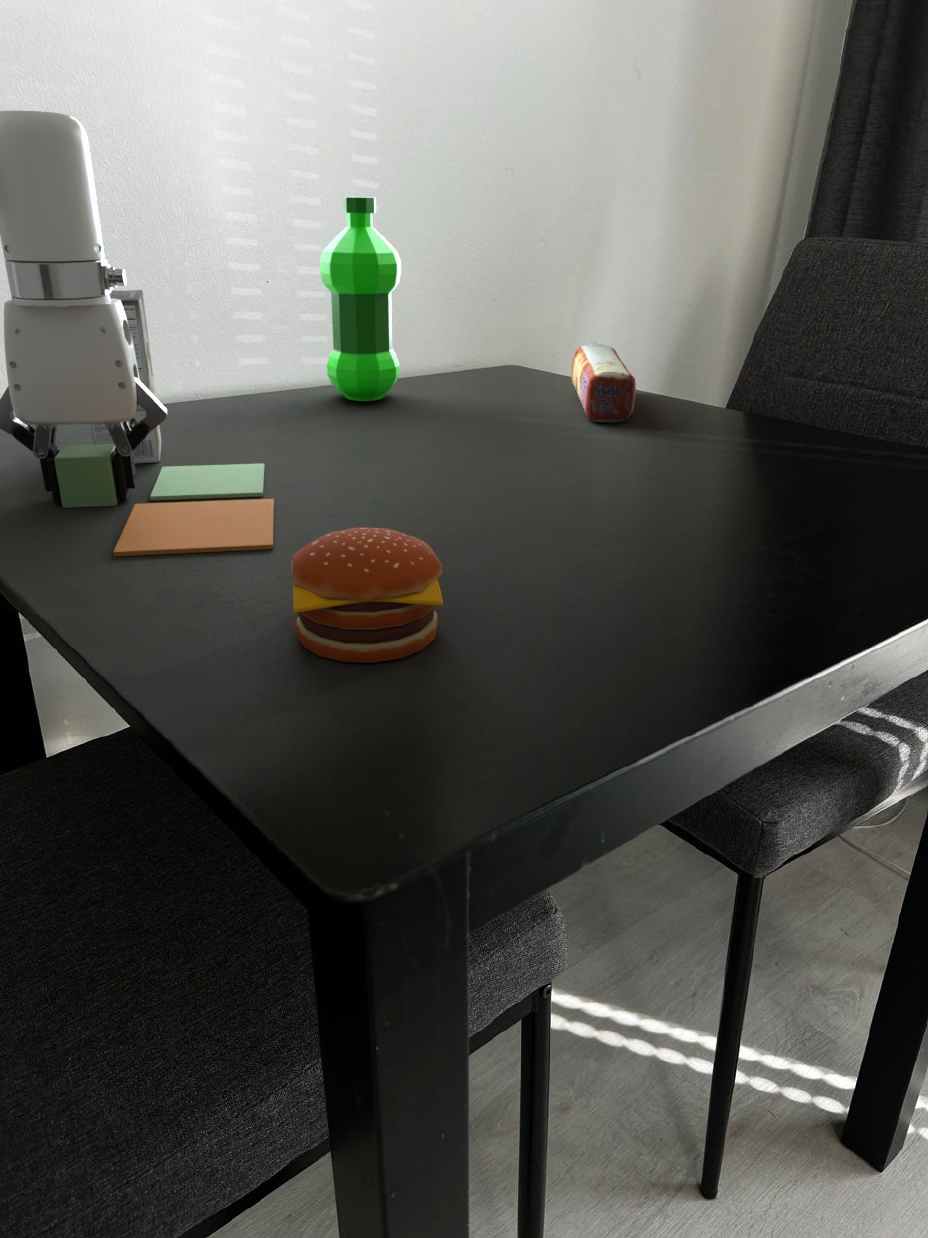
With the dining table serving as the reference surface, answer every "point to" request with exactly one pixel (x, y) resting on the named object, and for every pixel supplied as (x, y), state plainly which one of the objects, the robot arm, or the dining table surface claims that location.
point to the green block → (87, 475)
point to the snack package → (603, 383)
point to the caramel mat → (197, 527)
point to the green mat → (209, 482)
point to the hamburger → (366, 595)
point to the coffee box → (138, 328)
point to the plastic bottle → (361, 304)
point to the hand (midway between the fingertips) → (93, 495)
